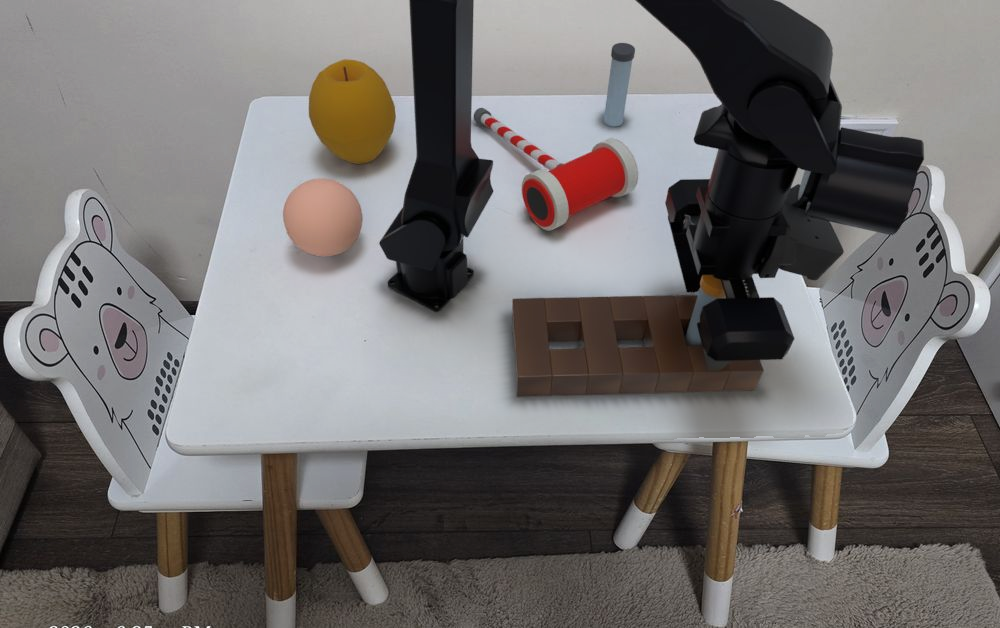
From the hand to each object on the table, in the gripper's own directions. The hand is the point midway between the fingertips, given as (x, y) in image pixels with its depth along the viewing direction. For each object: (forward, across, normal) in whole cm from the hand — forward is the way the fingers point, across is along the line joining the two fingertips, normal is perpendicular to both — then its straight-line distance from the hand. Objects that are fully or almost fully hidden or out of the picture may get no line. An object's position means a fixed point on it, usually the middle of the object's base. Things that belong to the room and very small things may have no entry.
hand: (702, 328), depth 69 cm
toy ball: (+4, +15, +36) cm, 39 cm away
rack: (+3, 0, +6) cm, 7 cm away
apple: (+4, +31, +34) cm, 46 cm away
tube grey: (+4, +37, +3) cm, 38 cm away
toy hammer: (+4, +26, +12) cm, 29 cm away
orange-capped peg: (+4, 0, 0) cm, 4 cm away
